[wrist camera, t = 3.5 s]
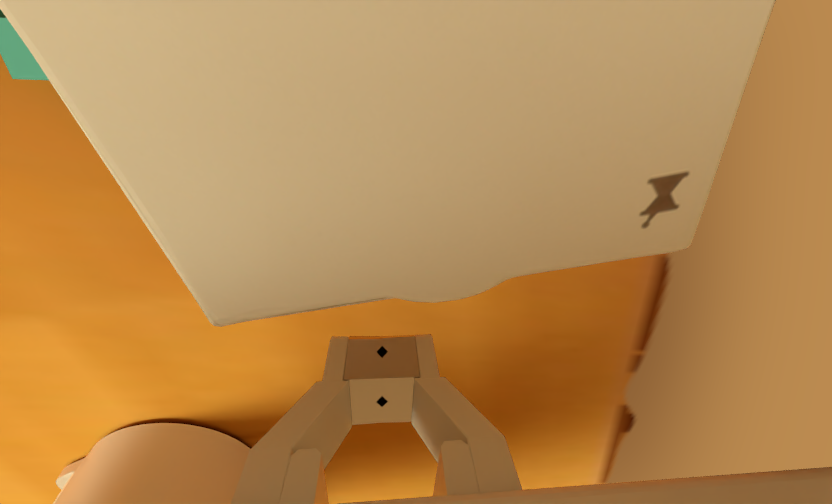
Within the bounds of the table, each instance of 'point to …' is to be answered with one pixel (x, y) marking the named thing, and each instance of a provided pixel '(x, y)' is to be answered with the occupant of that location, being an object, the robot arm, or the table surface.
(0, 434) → the table surface
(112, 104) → the skincare box
